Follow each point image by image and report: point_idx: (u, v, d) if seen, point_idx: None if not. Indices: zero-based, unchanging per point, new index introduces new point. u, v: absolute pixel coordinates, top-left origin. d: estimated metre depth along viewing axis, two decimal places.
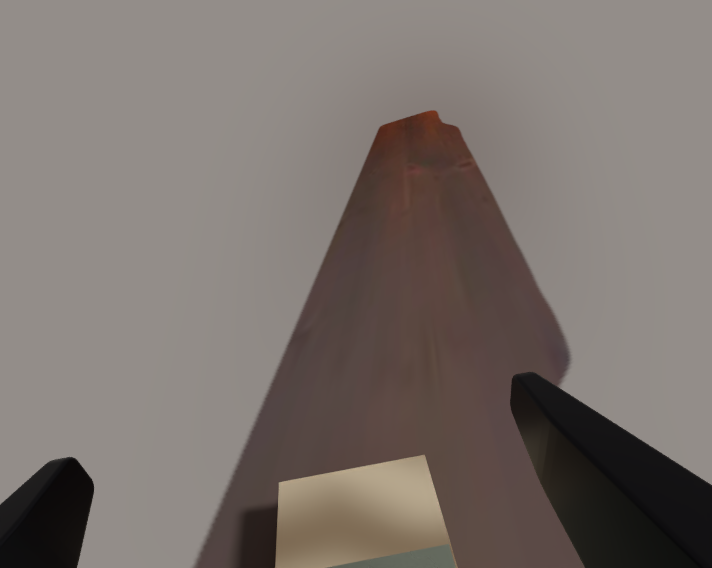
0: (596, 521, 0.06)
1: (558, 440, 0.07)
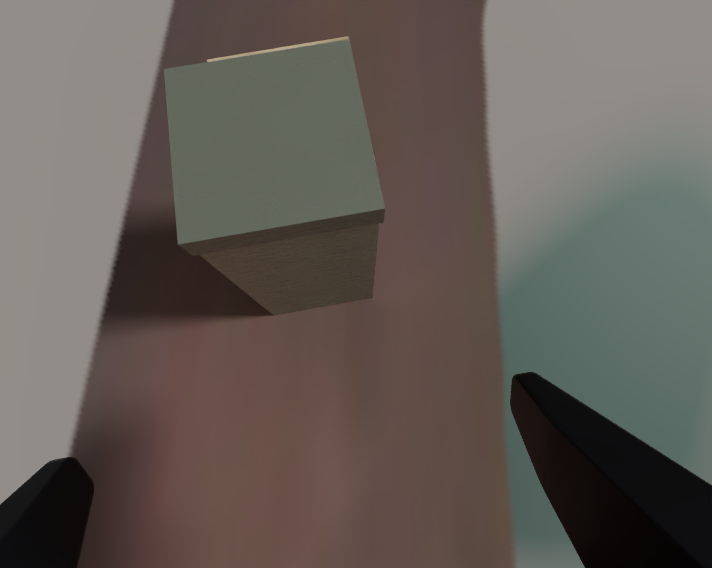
0: (596, 521, 0.06)
1: (558, 440, 0.07)
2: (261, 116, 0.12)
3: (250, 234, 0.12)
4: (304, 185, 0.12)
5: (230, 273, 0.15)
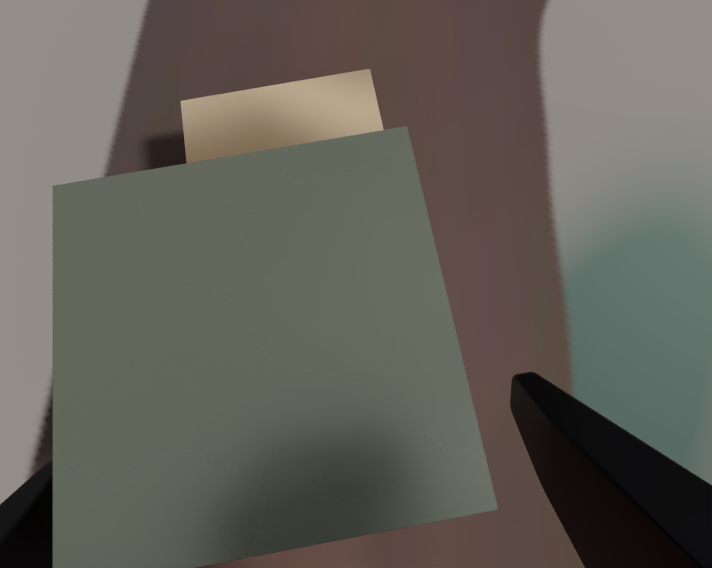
0: (596, 521, 0.06)
1: (558, 440, 0.07)
2: (238, 288, 0.06)
3: (212, 560, 0.05)
4: (325, 450, 0.06)
5: None
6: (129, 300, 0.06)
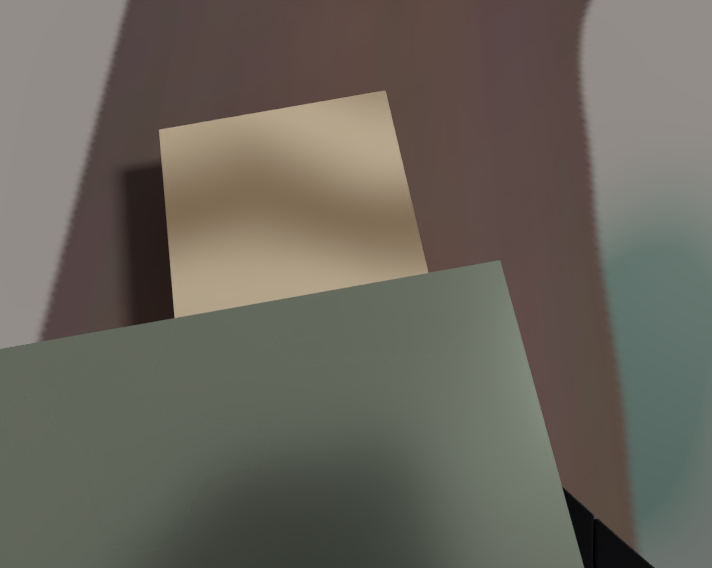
0: None
1: None
2: None
3: None
4: None
5: None
6: None
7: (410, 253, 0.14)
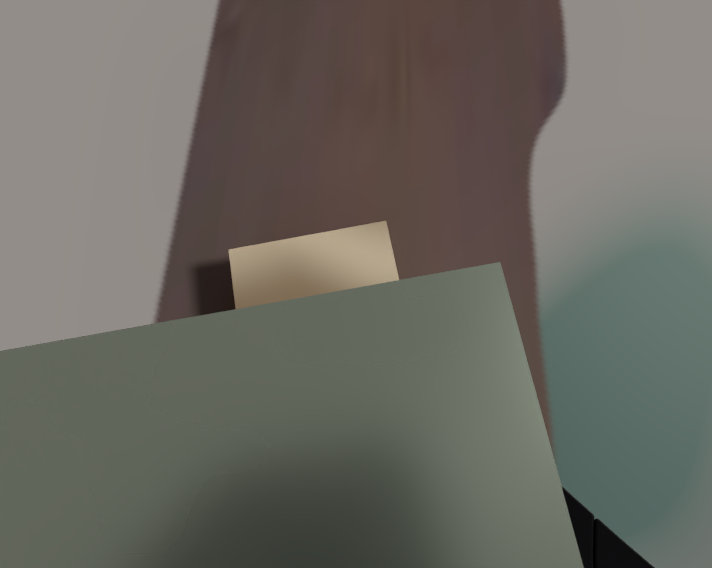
0: None
1: None
2: None
3: None
4: None
5: None
6: None
7: None
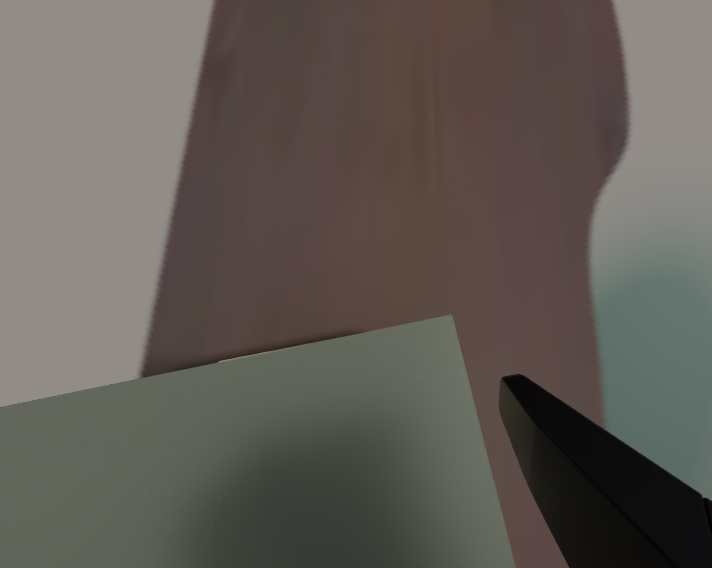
0: (580, 524, 0.06)
1: (543, 443, 0.07)
2: None
3: None
4: None
5: None
6: None
7: None
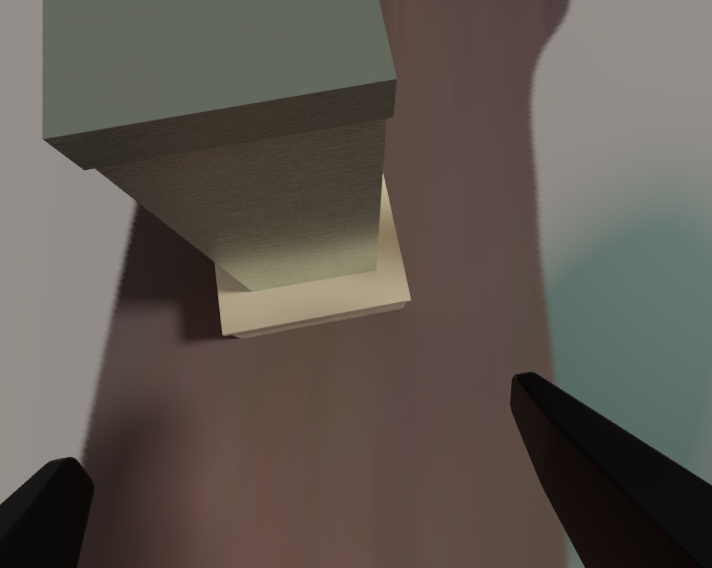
0: (596, 521, 0.06)
1: (558, 440, 0.07)
2: None
3: (168, 124, 0.07)
4: (260, 43, 0.07)
5: (167, 215, 0.10)
6: None
7: (391, 257, 0.19)
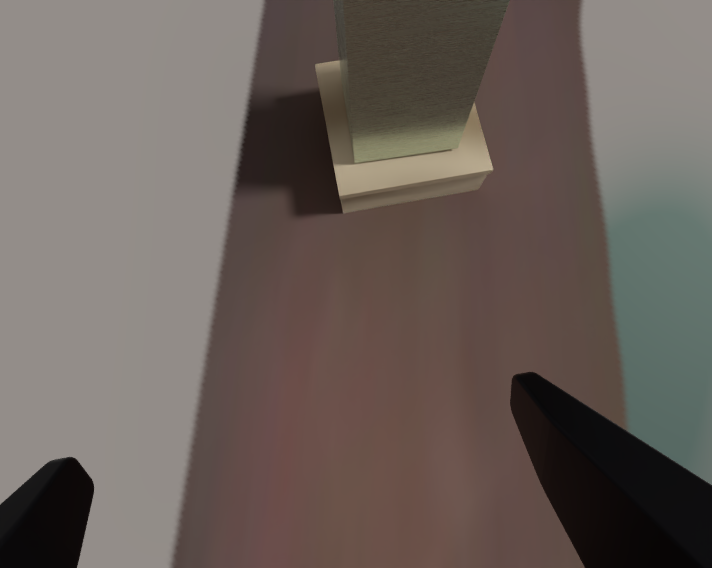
0: (596, 521, 0.06)
1: (558, 440, 0.07)
2: None
3: None
4: None
5: (352, 25, 0.14)
6: None
7: (476, 137, 0.23)
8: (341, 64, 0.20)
